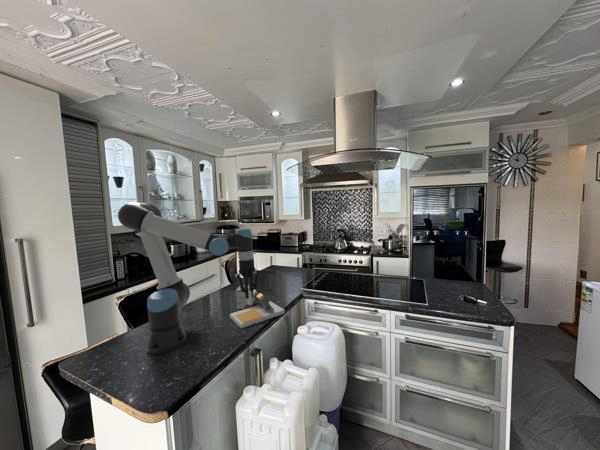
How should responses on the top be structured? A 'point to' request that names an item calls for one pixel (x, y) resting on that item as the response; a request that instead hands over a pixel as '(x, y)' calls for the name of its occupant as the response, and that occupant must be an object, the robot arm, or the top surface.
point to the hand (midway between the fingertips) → (249, 303)
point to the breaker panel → (255, 314)
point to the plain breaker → (256, 297)
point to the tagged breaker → (264, 301)
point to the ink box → (243, 299)
